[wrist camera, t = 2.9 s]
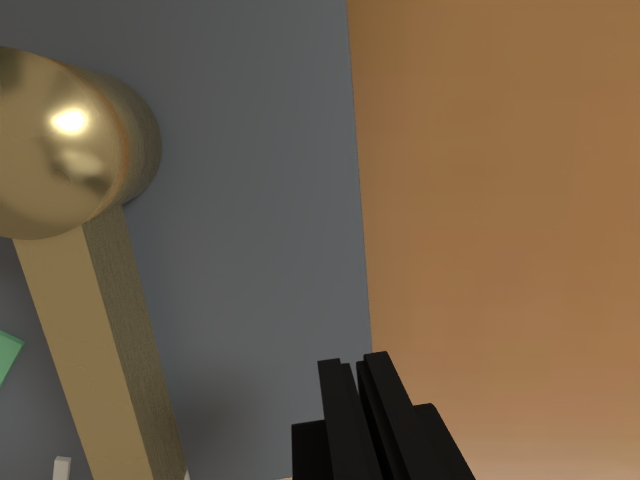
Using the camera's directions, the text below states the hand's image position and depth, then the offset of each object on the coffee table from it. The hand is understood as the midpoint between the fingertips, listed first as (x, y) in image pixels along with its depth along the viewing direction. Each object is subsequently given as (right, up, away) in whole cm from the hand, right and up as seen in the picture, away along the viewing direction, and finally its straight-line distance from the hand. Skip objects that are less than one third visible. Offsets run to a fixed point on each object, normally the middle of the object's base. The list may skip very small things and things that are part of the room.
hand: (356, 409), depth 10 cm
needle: (-7, +2, +4) cm, 9 cm away
